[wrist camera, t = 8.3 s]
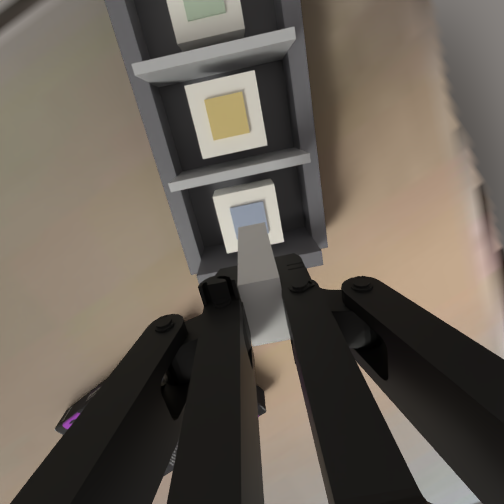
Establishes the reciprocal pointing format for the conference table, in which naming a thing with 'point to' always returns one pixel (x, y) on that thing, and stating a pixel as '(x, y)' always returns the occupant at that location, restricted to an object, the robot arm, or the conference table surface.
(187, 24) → the key
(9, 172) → the conference table surface
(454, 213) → the conference table surface
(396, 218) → the conference table surface
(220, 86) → the key
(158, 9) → the keypad
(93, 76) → the conference table surface
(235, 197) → the key
